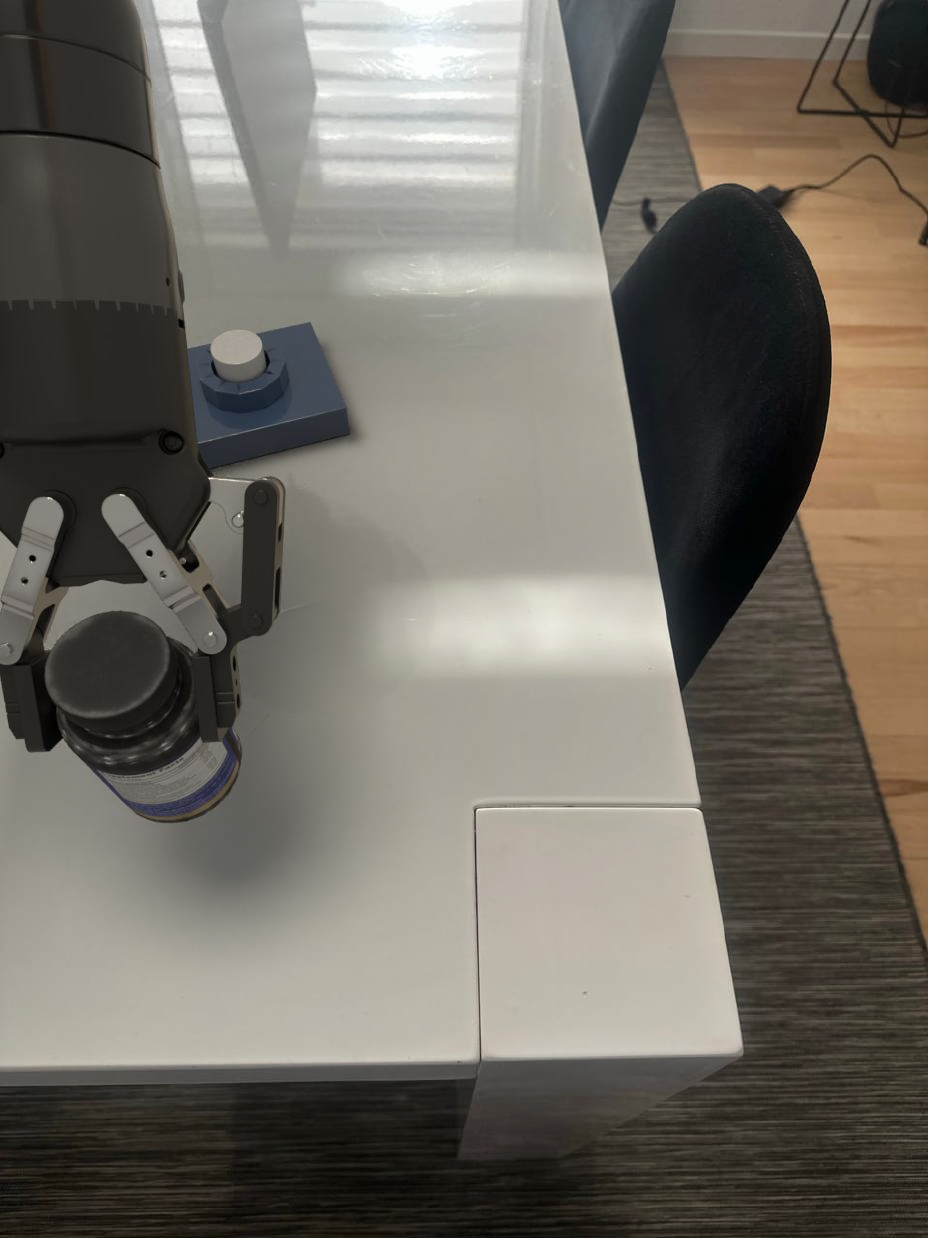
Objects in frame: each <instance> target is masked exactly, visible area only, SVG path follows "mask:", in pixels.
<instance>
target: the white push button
mask: <svg viewBox="0 0 928 1238" xmlns="http://www.w3.org/2000/svg"><path fill="white" fill-rule="evenodd" d="M256 334H257V333H255V332H253V331H250V330H246V329H232V330H228V331H227V330H226V331H224V332H222V333H220V334H219V335H217V336H216V337H215V338H214V339H213V340H212V342H211V343H212V344H211V343H210V344H211V348H210V349H211V354H212V358H213V361H214V365H215V368H216V372H217V374H218V376H219V377H220V378H221V379H222V380H224V381H226V382H232V383H243V382H248V381H252V380H255V379H257V378H258V377H260V376H261V375H262V374H263V373H264V372H265V370H266V366H267V363H266V359H265V354H264V349H263V345H262V341H261V339H260V338H259V337H258V336H257V335H256Z"/></svg>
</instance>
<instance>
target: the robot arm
mask: <svg viewBox="0 0 928 1238" xmlns="http://www.w3.org/2000/svg"><path fill="white" fill-rule="evenodd" d="M141 19H142V18H141V17H140V14H139V10H138V9H137V6H136V3H135V1H134V0H0V533H1V534H2V535H3V536H4V537H5V538H6V539H7V540H8V541H9V542H10V543H11V544H12V545H13V547H14V548H16V551H15V554H14V557H13V559H12V562H11V565H10V568H9V570H8V574H7V577H6V580H5V582H4V585H3V588H2V591H1V594H0V603H1V605H2V606H1V608H0V684H1V690H2V696H3V701H4V708H5V713H6V720H7V724H8V726H7V727H8V729H9V730H10V732H11V734H12V736H13V737H14V739H15V740H24V746H25V749H26V751H27V752H28V753H30V754H32V753H33V754H34V753H49V752H51V751H52V750H53V749H54V748H55V747H56V746H57V745H58V744H59V743H60V742H61V741H62V740H64V739H63V738H62V734H61V733H60V730H59V726H58V723H57V715H56V705H55V704H54V702H53V701H52V699H51V698H50V696H49V694H48V691H47V689H46V684H45V678H44V675H45V665H46V661H47V658H48V656H49V654H50V652H51V650H52V649H45V645H44V644H45V643H46V641H47V639H48V637H49V634H50V631H51V629H52V625H53V623H54V620H55V617H56V614H57V612H58V609H59V607H60V604H61V603H62V601H63V600H64V598H65V597H66V595H67V594H68V591H69V589H70V588H71V587H75V588H76V587H84V586H86V585H90V584H93V583H96V582H99V581H106V582H111V583H116V584H120V585H138V584H146V583H149V584H150V586H151V587H152V589H153V590H154V592H155V593H156V595H157V596H158V598H159V600H160V601H161V602H162V604H163V605H164V606H166V607H167V608H168V609H170V610H172V612H174V614H175V615H176V617H177V618H178V620H179V621H180V623H181V624H182V626H183V627H184V629H185V630H186V632H187V633H188V635H189V637H190V638H191V639H192V642H193V643H194V644H195V646H196V647H197V650H196V651H195V652H194V653H195V654H194V655H193V656H192V657H191V660H192V668H193V677H194V685H195V694H196V703H197V711H198V720H199V728H200V737H201V741H202V743H212V742H221V741H222V739H223V737H224V736H225V734H226V732H227V730H228V727H233V725H234V726H235V723H236V722H237V719H238V717H239V715H240V711H241V709H242V706H243V697H242V687H241V678H240V668H239V667H240V666H239V659H238V658H239V657H238V649H237V648H238V643H240V642H243V641H244V640H247V639H249V638H252V637H261V636H264V635H266V634H267V633H268V632H269V631H270V630H271V628H272V626H273V625H274V621H275V620H276V619H277V618H278V616H279V615H280V612H281V604H282V603H281V602H282V580H283V562H284V561H283V560H284V559H283V558H284V537H285V536H284V535H285V518H286V517H285V514H286V487H285V484H284V483H283V481H281V479H279V478H278V477H275V476H271V475H268V476H262V477H259V478H257V479H254V478H241V477H232V476H231V477H230V476H218V475H214V473H213V471H212V470H211V468H209V467H208V465H207V464H206V463H205V461H204V459H203V457H202V455H201V453H200V450H199V447H198V442H197V432H196V422H195V413H194V404H193V394H192V385H191V376H190V366H189V357H188V348H189V347H188V339H187V332H186V331H187V330H186V329H187V328H186V322H185V311H184V304H185V303H184V302H186V296H185V285H184V276H183V272H181V270H180V265H179V257H178V256H179V255H178V250H177V249H178V248H177V242H176V236H175V231H174V225H173V222H172V217H171V214H170V210H169V205H168V201H167V197H166V193H165V188H164V182H163V181H164V180H163V175H162V165H161V156H160V147H159V138H158V137H159V136H158V129H157V128H158V127H157V121H156V120H157V119H156V112H155V103H154V93H153V92H154V91H153V87H152V86H153V85H152V76H151V68H150V67H151V66H150V58H149V52H148V45H147V39H146V34H145V30H144V25H143V23H142V20H141ZM212 503H213V504H215V505H217V506H219V507H220V508H221V509H222V511H223V514H224V516H225V517H224V518H225V522H226V525H227V527H228V528H229V530H230V531H232V532H233V533H235V534H237V535H242V553H241V554H242V555H241V557H242V558H241V585H240V587H241V588H240V602H239V603H237V604H234V605H232V606H229V604H228V602H227V601H226V599H225V598H224V596H223V594H222V593H221V592H220V590H219V588H218V587H217V585H216V583H215V581H214V576H213V573H212V571H211V570H210V567H209V566H208V565H207V563H206V562H205V560H204V558H203V557H202V555H201V554H200V552H199V551H198V549H197V547H196V545H195V544H194V543H193V541H192V539H191V537H192V535H193V534H194V532H195V531H196V529H197V528H198V525H199V524H200V522H201V521H202V519H203V517H204V516H205V514H206V513H207V511H208V509H209V508H210V506H211V504H212ZM183 559H184V560H185V561H184V560H183ZM165 573H166V574H165Z"/></svg>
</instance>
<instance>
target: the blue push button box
mask: <svg viewBox="0 0 928 1238" xmlns="http://www.w3.org/2000/svg"><path fill="white" fill-rule="evenodd" d="M255 334H256V335H257V336H258V337H259V338H260V339H261V341H262V345H263V349H264V354H265V359H266V363H267V366H266V370H265V372H264V373H263V374H262V375H261V376H260V377H258V378H257V379H255V380H252V381H248V382H243V383H232V382H226V381H224V380H222V379H221V378H220V377H219V376H218V374H217V372H216V368H215V365H214V361H213V358H212V354H211V349H210V348H211V344H212V342H211V343H207V344H203V345H198V346H193V347H187V348H188V357H189V366H190V376H191V385H192V394H193V404H194V413H195V422H196V432H197V442H198V447H199V450H200V453H201V455H202V457H203V459H204V461H205V463H206V464H207V465H208V467H209V468H210V469H214V468H217V467H221V466H226V465H230V464H233V463H238V462H242V461H246V460H249V459H254V458H259V457H262V456H265V455H271V454H274V453H278V452H282V451H285V450H290V449H294V448H298V447H302V446H306V445H309V444H315V443H319V442H321V441H325V440H326V441H327V440H330V439H334V438H337V437H342V436H346V435H350V423H349V414H348V407H347V405H346V402H345V400H344V397H343V395H342V392H341V390H340V388H339V386H338V383H337V381H336V379H335V376H334V374H333V372H332V369H331V366H330V365H329V362H328V360H327V358H326V355H325V352H324V350H323V348H322V345H321V343H320V341H319V339H318V336H317V334H316V331H315V329H314V327H313V324H312V322H311V321H307V322H303V323H299V324H293V325H289V326H285V327H280V328H275V329H272V330H266V331H262V332H257V333H255Z"/></svg>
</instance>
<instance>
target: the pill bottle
mask: <svg viewBox="0 0 928 1238" xmlns="http://www.w3.org/2000/svg"><path fill="white" fill-rule="evenodd" d="M50 650H51V652H50V654H49V656H48V658H47V661H46V665H45V675H44V678H45V684H46V689H47V691H48V694H49V696H50V698H51V699H52V701H53V702H54V704H55V705H56V715H57V723H58V726H59V730H60V733H61V734H62V738H63V739H62V740H63V741H64V742H65V743H66V745H67V746H68V748H69V749H70V750H71V751H72V752H73V754H74V755H76V756H77V757H78V758H79V759H80V760H81V761H82V762H83V763H84V764H85V765H86V766H87V767H88V769H89V770H91V771H92V773H94V774H95V776H97V777H98V779H100V780H101V782H102V783H104V785H105V786H106V787H107V788H108V789H109V790H110V791H111V792H112V793H113V794H114V795H115V796H117V798H119V800H120V801H121V802H122V803H124V805H125V806H127V808H129V809H130V810H131V811H132V812H133V813H134V814H135V815H136V816H139V817H141V818H143V819H145V820H147V821H151V822H154V823H160V824H178V823H185V822H188V821H192V820H195V819H197V818H200V817H202V816H205V815H206V814H208V813H209V812H211V811H212V810H214V809H215V808H217V806H218V805H220V804H221V803H222V802H223V801H224V800H225V799H226V798H227V797H228V796H229V794H230V793H231V792H232V790H233V788H234V786H235V784H236V782H237V779H238V778H239V774H240V769H241V765H242V758H243V747H242V743H241V739H240V735H239V734H238V732H237V729H236V727H235V724H234V725H233V727H228V730H227V732H226V734H225V736H224V737H223V739H222V741H221V742H212V743H202V741H201V737H200V728H199V720H198V711H197V703H196V694H195V685H194V677H193V668H192V660H191V657H192V656H193V655H194V654H195V653H196V652H194V651H193V650H192V649H191V648H190V647H188V645H185V644H184V643H183V642H181V641H179V640H177V639H175V638H173V637H170V636H169V635H166V633H165V631H164V630H163V628H162V627H161V626H160V625H158V624H157V623H156V622H155V621H154V620H153V619H151V618H149V617H147V616H145V615H143V614H140V613H138V612H135V611H126V610H110V611H104V612H100V613H96V614H93V615H90V616H88V617H86V618H84V619H82V620H81V621H79V622H77V623H75V624H73V625H71V627H69V629H67V630H65V632H64V633H62V634H61V636H60V637H59V638H58V639H57V640H56V641H55V643H54V644H53V646H52V649H50Z"/></svg>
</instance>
